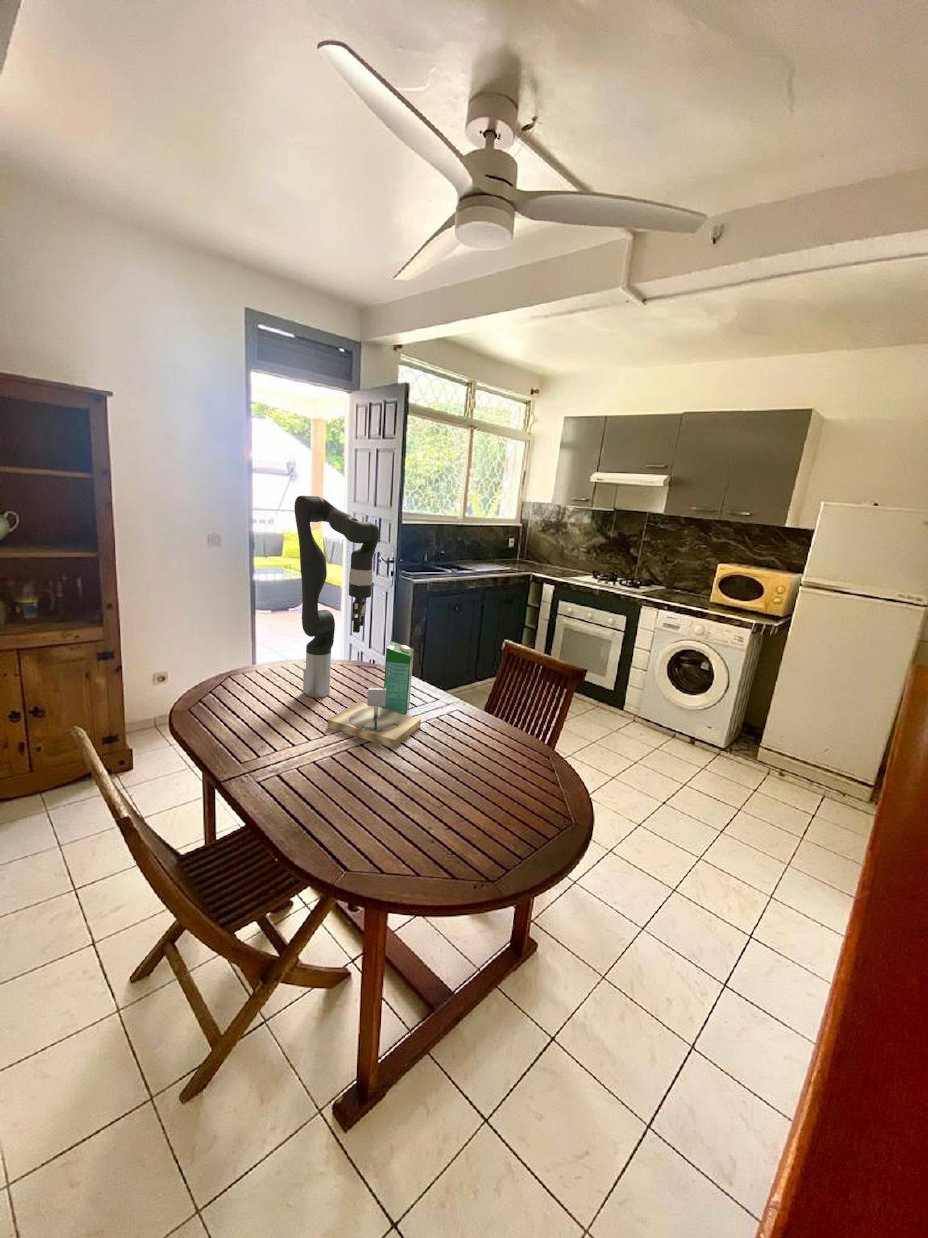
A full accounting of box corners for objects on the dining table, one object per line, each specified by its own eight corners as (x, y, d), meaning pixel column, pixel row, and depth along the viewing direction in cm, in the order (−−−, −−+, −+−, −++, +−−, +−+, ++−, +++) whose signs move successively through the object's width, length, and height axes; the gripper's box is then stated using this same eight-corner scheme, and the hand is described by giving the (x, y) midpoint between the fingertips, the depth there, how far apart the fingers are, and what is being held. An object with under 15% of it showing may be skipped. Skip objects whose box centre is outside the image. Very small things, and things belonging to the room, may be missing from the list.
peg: (366, 717, 171) (368, 688, 169) (384, 717, 172) (386, 688, 170) (366, 730, 162) (367, 699, 159) (384, 730, 163) (386, 700, 161)
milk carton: (406, 714, 185) (411, 650, 179) (382, 711, 185) (386, 647, 179) (409, 704, 193) (414, 643, 187) (386, 701, 193) (390, 640, 187)
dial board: (327, 727, 168) (327, 718, 167) (358, 709, 185) (358, 700, 184) (394, 748, 159) (394, 739, 158) (420, 727, 176) (421, 718, 175)
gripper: (353, 577, 172) (351, 622, 176) (345, 584, 158) (343, 633, 162) (374, 579, 173) (372, 624, 176) (368, 587, 159) (366, 635, 163)
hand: (358, 628), depth 169 cm, fingers open, 8 cm apart
